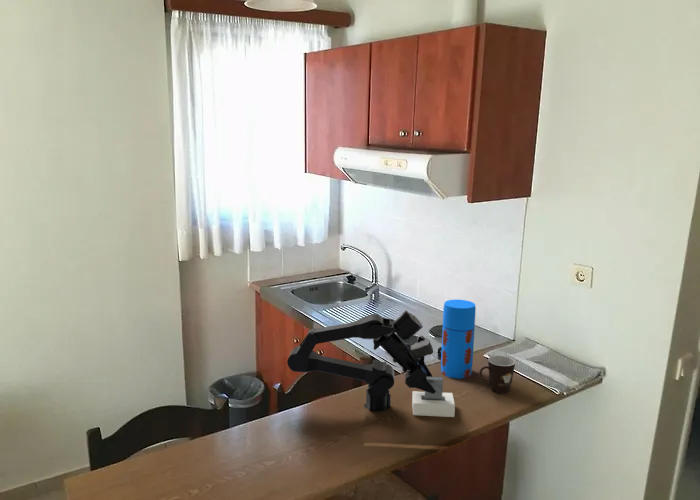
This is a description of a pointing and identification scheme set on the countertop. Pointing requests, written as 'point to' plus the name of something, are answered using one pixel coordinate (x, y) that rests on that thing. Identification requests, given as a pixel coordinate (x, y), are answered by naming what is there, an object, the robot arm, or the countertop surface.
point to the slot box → (433, 405)
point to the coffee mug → (500, 373)
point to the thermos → (458, 338)
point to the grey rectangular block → (437, 385)
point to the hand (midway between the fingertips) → (433, 385)
